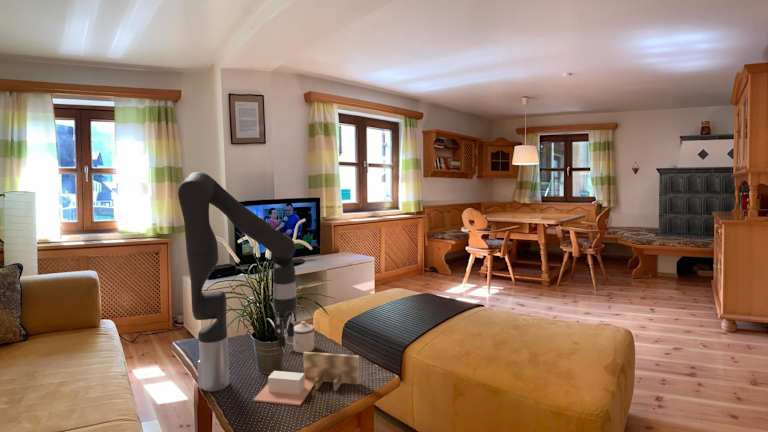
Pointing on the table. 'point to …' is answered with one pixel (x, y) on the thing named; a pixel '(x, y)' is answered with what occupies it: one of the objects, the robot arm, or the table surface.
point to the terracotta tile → (285, 395)
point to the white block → (286, 382)
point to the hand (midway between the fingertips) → (286, 341)
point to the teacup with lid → (302, 338)
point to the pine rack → (331, 368)
